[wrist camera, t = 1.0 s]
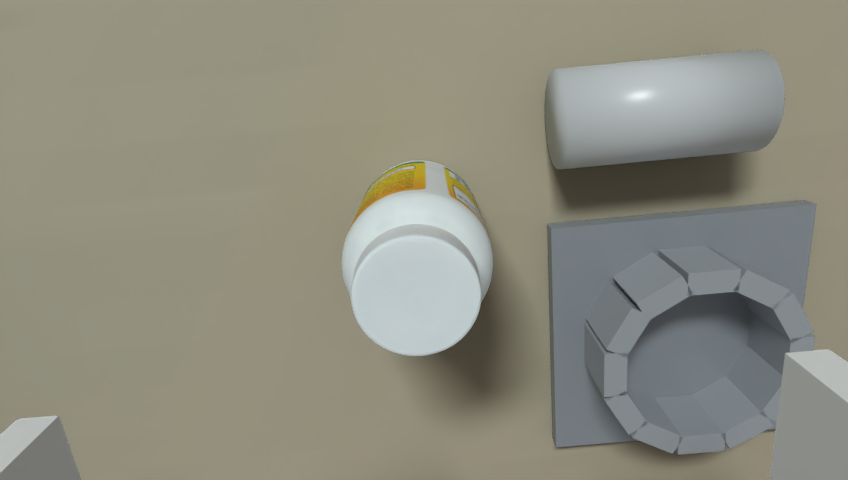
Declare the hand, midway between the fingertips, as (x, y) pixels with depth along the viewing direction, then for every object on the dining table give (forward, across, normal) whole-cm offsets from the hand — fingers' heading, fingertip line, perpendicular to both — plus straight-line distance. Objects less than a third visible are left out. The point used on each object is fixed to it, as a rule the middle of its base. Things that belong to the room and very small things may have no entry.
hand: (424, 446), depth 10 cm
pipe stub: (+16, +10, +4) cm, 19 cm away
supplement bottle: (+16, 0, 0) cm, 17 cm away
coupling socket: (+16, +12, -7) cm, 21 cm away
